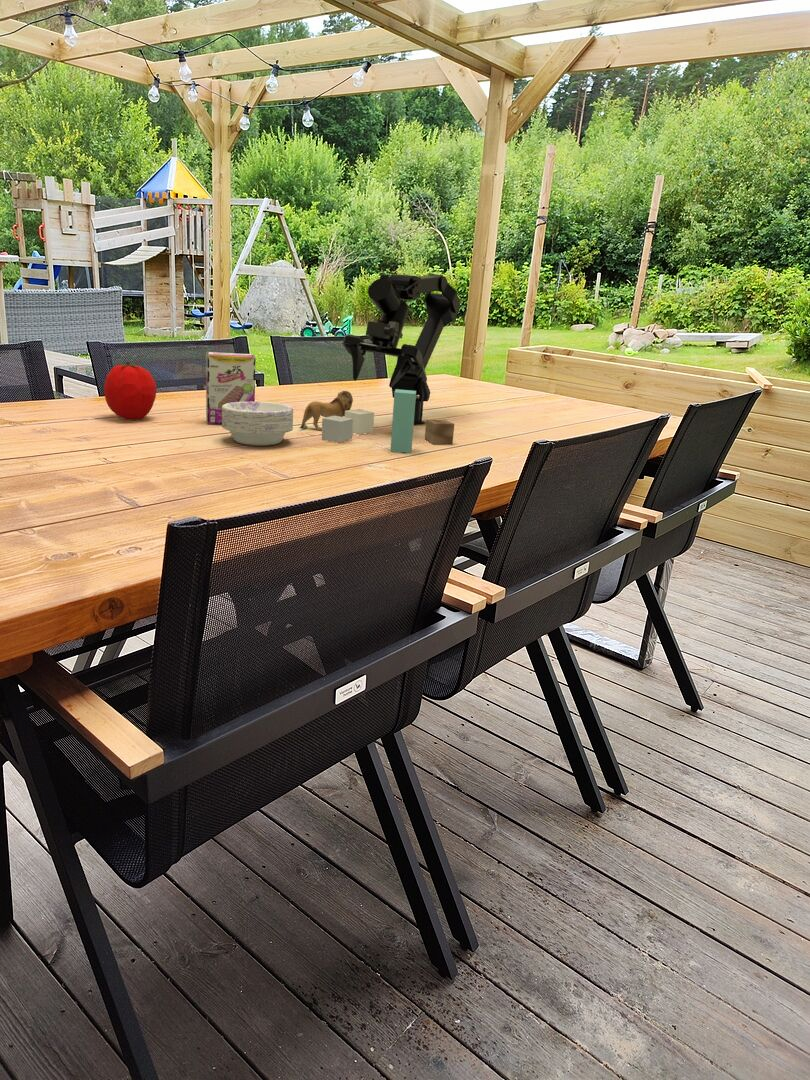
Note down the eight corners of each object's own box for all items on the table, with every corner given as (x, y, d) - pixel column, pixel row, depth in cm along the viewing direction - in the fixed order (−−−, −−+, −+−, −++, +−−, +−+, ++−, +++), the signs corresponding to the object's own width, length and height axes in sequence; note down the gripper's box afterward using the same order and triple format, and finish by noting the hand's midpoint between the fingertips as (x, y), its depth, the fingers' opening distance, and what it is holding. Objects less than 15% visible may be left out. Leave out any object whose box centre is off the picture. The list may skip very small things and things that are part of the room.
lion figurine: (343, 424, 193) (345, 388, 191) (356, 428, 190) (358, 392, 187) (294, 428, 184) (295, 391, 181) (306, 433, 181) (307, 394, 178)
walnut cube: (443, 440, 185) (445, 419, 183) (452, 444, 180) (454, 423, 179) (424, 440, 183) (426, 419, 181) (433, 445, 178) (434, 423, 177)
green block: (391, 447, 172) (395, 389, 168) (411, 449, 172) (416, 390, 168) (390, 451, 168) (394, 392, 164) (410, 453, 168) (415, 393, 164)
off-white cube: (358, 429, 190) (359, 409, 188) (373, 433, 186) (374, 412, 185) (343, 431, 186) (344, 410, 184) (358, 435, 183) (359, 414, 181)
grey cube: (333, 436, 179) (334, 415, 177) (351, 440, 177) (352, 418, 175) (321, 440, 175) (322, 418, 173) (340, 443, 173) (341, 421, 171)
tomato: (102, 423, 174) (99, 364, 170) (108, 413, 185) (105, 357, 181) (156, 424, 177) (153, 366, 173) (159, 414, 188) (157, 359, 184)
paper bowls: (250, 431, 178) (250, 397, 175) (305, 441, 172) (306, 406, 169) (207, 441, 165) (206, 404, 162) (265, 453, 159) (266, 415, 156)
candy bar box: (207, 425, 181) (206, 354, 175) (206, 421, 185) (205, 351, 180) (255, 425, 184) (256, 355, 179) (252, 421, 189) (253, 353, 183)
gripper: (345, 299, 177) (324, 361, 175) (420, 311, 172) (400, 375, 169) (359, 323, 188) (340, 382, 185) (431, 336, 182) (412, 396, 180)
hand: (372, 383), depth 180 cm, fingers open, 9 cm apart
